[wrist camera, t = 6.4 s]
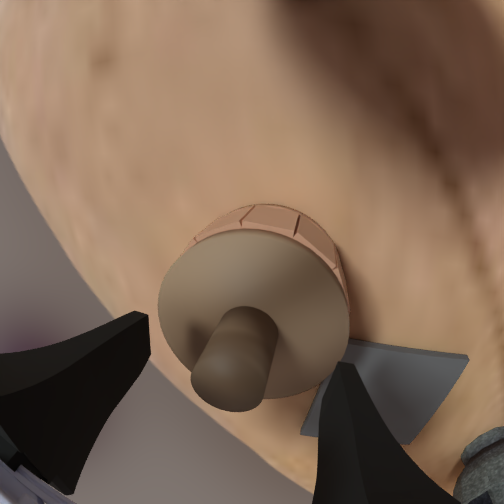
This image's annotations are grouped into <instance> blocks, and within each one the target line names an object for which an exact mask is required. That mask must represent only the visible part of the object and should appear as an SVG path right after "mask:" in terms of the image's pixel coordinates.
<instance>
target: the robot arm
mask: <svg viewBox="0 0 504 504" xmlns="http://www.w3.org/2000/svg"><path fill="white" fill-rule="evenodd" d="M150 355H151V349H150V335H149V318H148V315H147V314H144V313H141V312H138V311H133V312H130V313H128V314H126V315H123V316H121V317H119V318H117V319H115V320H113V321H110V322H108V323H106V324H104V325H102V326H100V327H97V328H95V329H93V330H91V331H88V332H86V333H83V334H81V335H78V336H76V337H73V338H71V339H68V340H65V341H62V342H59V343H56V344H52V345H49V346H45V347H41V348H37V349H32V350H27V351H21V352H13V353H4V354H0V504H44V502H45V503H46V504H76V503H75V502H73V501H71V500H70V499H68V498H66V497H65V496H63V495H62V494H60V493H59V492H57V491H56V490H55V489H57V490H58V491H60V492H61V493H63V494H64V495H71V494H74V491H75V488H76V485H77V482H78V480H79V477H80V474H81V472H82V469H83V467H84V464H85V462H86V460H87V458H88V455H89V453H90V451H91V449H92V447H93V445H94V443H95V441H96V439H97V437H98V435H99V433H100V431H101V430H102V428H103V426H104V424H105V423H106V421H107V419H108V418H109V416H110V414H111V413H112V412H113V410H114V409H115V407H116V406H117V405H118V404H119V402H120V401H121V399H122V398H123V397H124V395H125V394H126V393H127V391H128V390H129V389H130V387H131V386H132V385H133V383H134V382H135V380H136V379H137V378H138V377H139V375H140V374H141V372H142V370H143V368H144V367H145V365H146V363H147V361H148V359H149V357H150ZM41 479H42V480H43V481H44V482H43V481H42V480H41ZM45 482H46V483H47V484H50V485H51V486H52V487H54V488H55V489H53V488H52V487H50V486H49V485H47V484H46V483H45ZM312 504H461V502H460V501H458V500H457V499H455V498H454V497H453V496H451V495H450V494H449V493H447V492H446V491H445V490H443V489H442V488H441V487H439V486H438V485H437V484H436V483H435V482H434V481H433V480H432V479H430V478H429V477H428V476H427V475H426V474H425V473H424V472H423V471H422V470H421V469H420V468H419V467H418V466H417V465H416V463H415V462H414V461H413V460H412V459H411V458H410V457H409V456H408V454H407V453H406V452H405V451H404V450H403V448H402V447H401V446H400V444H399V443H398V442H397V440H396V439H395V438H394V436H393V435H392V433H391V432H390V430H389V429H388V427H387V426H386V424H385V422H384V421H383V419H382V417H381V416H380V414H379V412H378V410H377V408H376V407H375V405H374V403H373V401H372V399H371V397H370V395H369V393H368V391H367V389H366V387H365V385H364V383H363V381H362V379H361V377H360V375H359V373H358V371H357V368H356V366H355V365H354V364H352V363H346V362H340V361H338V362H337V364H336V367H335V369H334V372H333V374H332V377H331V379H330V381H329V384H328V386H327V388H326V391H325V393H324V395H323V397H322V403H321V409H320V417H319V433H318V465H317V478H316V485H315V491H314V496H313V501H312Z"/></svg>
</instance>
